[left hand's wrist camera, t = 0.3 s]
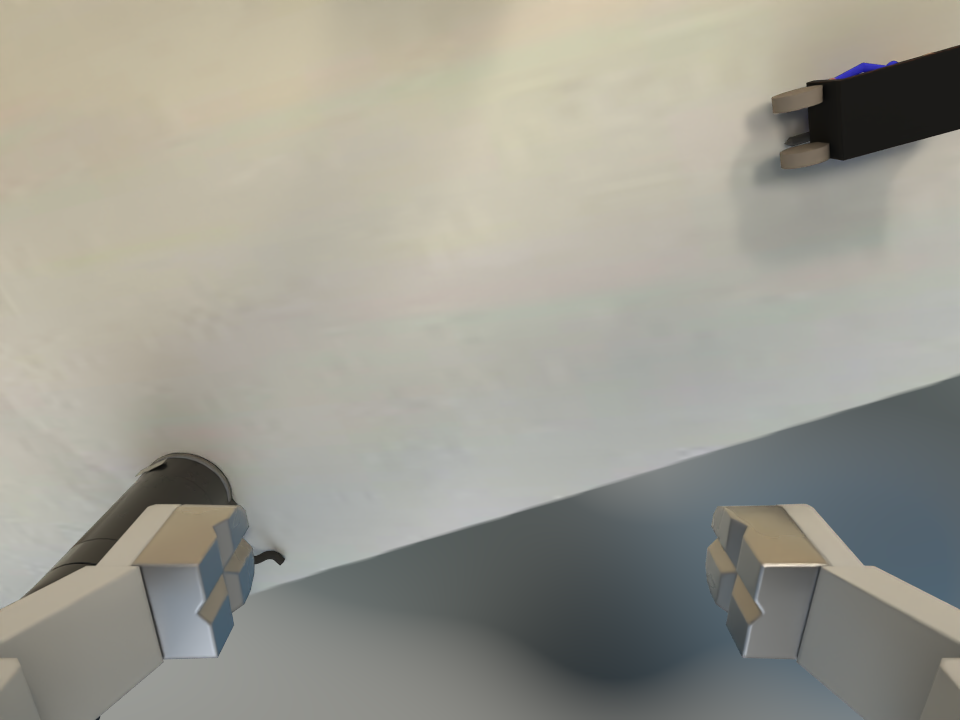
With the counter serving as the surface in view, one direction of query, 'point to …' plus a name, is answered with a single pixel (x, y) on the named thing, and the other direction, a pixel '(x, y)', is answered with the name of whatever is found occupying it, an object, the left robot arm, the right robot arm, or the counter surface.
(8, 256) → the counter surface
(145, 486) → the right robot arm
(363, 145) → the counter surface
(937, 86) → the figurine character
